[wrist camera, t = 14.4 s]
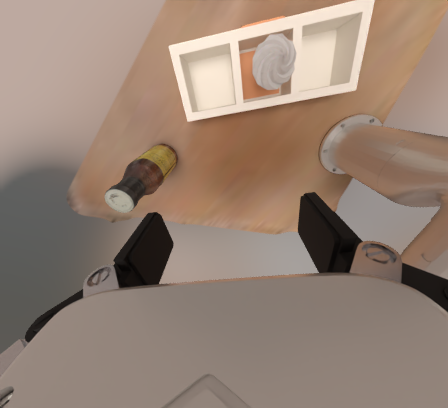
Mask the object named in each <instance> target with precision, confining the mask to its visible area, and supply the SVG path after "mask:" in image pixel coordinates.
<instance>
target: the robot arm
mask: <svg viewBox="0 0 448 408" xmlns="http://www.w3.org/2000/svg"><path fill="white" fill-rule="evenodd" d="M323 150H324V151H323ZM319 158H320V162H321V164H322V165H323V167H324V168H325V169H327V170H328V171H330V172H332V173H335V174H349V175H350V176H352V177H353V178H355V179H357V180H358V181H360V182H362V183H363V184H365V185H367V186H368V187H370V188H371V189H373V190H375V191H376V192H378V193H379V194H381V195H383V196H385V197H386V198H388V199H390V200H391V201H393V202H395V203H398V204H401V205H405V206H411V207H435V206H440V209H439V210H438V212H437V213H436V214H435V215H434V217H433V218H432V219H431V221H430V222H429V223H428V224H427V225H426V227H425V228H424V229H423V230H422V231H421V232H420V233H419V234H418V235H417V236H416V237H415V238H414V240H413V241H412V242H411V243H410V244H409V245H408V246H407V247H406V249H405V250H404V251H403V252H402V254H401V255H399V253H398V252H397V251H396V250H394V249H393V248H391V247H389V246H388V245H385V244H383V243H380V242H375V241H364V242H363V241H362V240H361V239H360V238H359V237H358V236H357V235H356V234H355V233H354V232H353V231H352V230H351V229H350V228H349V227H348V226H347V225H346V223H345V222H344V221H343V220H342V219H341V218H340V217H339V216H338V215H337V214H336V213H335V212H333V211H332V210H331V209H330V208H329V207H328V206H327V205H326V203H325V202H324V201H323V200H322V199H321V198H320V197H319V196H318V195H317V194H316V193H315V192H312V193H305V194H304V196H301V200H300V211H299V222H298V233H299V235H300V237H301V239H302V241H303V243H304V245H305V247H306V249H307V251H308V252H309V254H310V256H311V258H312V260H313V262H314V264H315V266H316V268H317V270H318V272H319V273H313V274H312V273H311V274H295V275H278V276H263V277H250V278H236V279H222V280H208V281H194V282H182V283H169V284H159V282H160V279H161V277H162V274H163V271H164V269H165V266H166V264H167V261H168V258H169V256H170V253H171V251H172V248H173V241H172V239H171V236H170V234H169V232H168V230H167V227H166V225H165V223H164V221H163V218H162V216H161V215H160V214H158V213H157V212H153V213H148V214H147V215H146V216H145V218H144V219H143V220H142V222H141V223H140V224H139V226H138V227H137V229H136V230H135V231H134V233H133V234H132V235H131V237H130V238H129V239H128V241H127V242H126V244H125V245H124V246H123V248H122V249H121V250H120V252H119V253H118V254H117V256H116V257H115V259H114V262H115V264H114V265H104V266H102V267H99V268H98V269H96V270H94V271H93V272H92V273H91V274H90V275H89V276H88V277H87V278H86V280H85V281H84V285H83V289H82V290H81V291H79V292H77V293H76V294H74V295H73V296H71V297H69V298H68V299H67V300H65V301H63V302H61V303H60V304H59V305H57V306H55V307H54V308H52V309H51V310H49V311H47V312H46V313H45V314H43V315H41V316H40V317H39V318H37V320H35V322H34V323H33V324H32V325H31V327H30V328H29V329H28V331H27V332H26V335H25V339H24V340H22V339H19V340H18V341H16V342H15V343H14V344H13V345H11V346H10V347H9V348H8V349H7V350H5V351H4V352H3V353H2V354H0V408H448V137H443V136H437V135H431V134H425V133H418V132H413V131H406V130H400V129H394V128H388V127H383V125H382V123H381V122H380V120H378V119H377V118H376V117H374V116H371V115H365V114H358V115H353V116H350V117H347V118H345V119H343V120H341V121H340V122H338V123H337V124H336V125H334V126H333V127H332V128H331V129H330V130H329V132H328V133H327V134H326V136H325V137H324V139H323V141H322V143H321V146H320V151H319Z"/></svg>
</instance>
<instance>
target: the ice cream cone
mask: <svg viewBox="0 0 448 408" xmlns="http://www.w3.org/2000/svg"><path fill="white" fill-rule="evenodd" d="M296 54H297V53H296V50H295V47H294V44H293V41H291V40H288V39H287V38H286V37H285V36H284V35H283V34H282V33H280V34H271V35H269V36H268V37H267V38H266V40H265V41H264V42H262V43H260V44H259V45H258V47H257V49H256V51H255V54H254V56H253V66H252V67H253V70H252V72H253V73H252V74H253V76H254V78H255V80H256V82H257V84H258V85H260V86H261V87H263V88H264V89H267V90H275V89H278V88H279V87H280V86H281V85H282V84H283V83H285V82H288V81H289V79H290V77H291V75H292V73H293V72H294V70H295V67H294V62H295V59H296Z"/></svg>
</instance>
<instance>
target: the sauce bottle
mask: <svg viewBox="0 0 448 408" xmlns="http://www.w3.org/2000/svg"><path fill="white" fill-rule="evenodd" d="M176 162H177V155H176V153H175V151H174V150H173V149H172V148H171V147H169V146H168V145H165V144H160V145H157V146H154V147H152V148H151V149H150V150H148V151H147V152H145V153H144V154H142V155H141V156H140V157H138V158H137V159H135V160H134V161H133V162H131V163H130V164H129V165H128V166H127V168H126V171H125V173H124V176H123V179H122V180H121V182H120V183H118V184H117V185H114V186H112V187H111V188H110V189H109V190H108V191H107V192H106V194H105V201H106V203H107V204H108V205H109V206H110V207H111V208H113V209H114V210H116V211H118V212H123V213H126V212H130V211H132V209H133V208H134V207H135V206H136V205H137V203H138V201H139V199H140V198H142V196H144V195H150V194H152V193H154V192H155V191H156V190H157V189H158V187H159V186H160V185H161V184H162V183H163V182H164V180H165V179H166V178H167V176H168V175H169V174H170V172H171V171H172V170H173V168H174V167H175V165H176Z"/></svg>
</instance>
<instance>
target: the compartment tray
mask: <svg viewBox="0 0 448 408" xmlns="http://www.w3.org/2000/svg"><path fill="white" fill-rule="evenodd" d="M374 1H375V0H355V1H351V2H347V3H343V4H339V5H335V6H331V7H326V8H322V9H318V10H314V11H310V12H306V13H302V14H298V15H294V16H289V17H285V16H280V17H276V18H272V19H268V20H264V21H260V22H256V23H252V24H248V25H244V26H242V27H241V28H240V29H236V30H232V31H228V32H224V33H220V34H215V35H211V36H207V37H203V38H199V39H195V40H191V41H187V42H183V43H178V44H174V45H170V46H169V50H170V54H171V58H172V62H173V66H174V70H175V74H176V78H177V82H178V86H179V90H180V94H181V97H182V101H183V105H184V109H185V113H186V117H187V121H188V122H189V121H194V120H199V119H205V118H210V117H216V116H221V115H226V114H232V113H237V112H242V111H248V110H253V109H258V108H264V107H269V106H274V105H280V104H285V103H291V102H296V101H301V100H307V99H312V98H317V97H323V96H328V95H333V94H339V93H344V92H349V91H355V90H356V87H357V83H358V78H359V73H360V68H361V63H362V59H363V54H364V49H365V44H366V39H367V35H368V30H369V25H370V20H371V16H372V11H373V6H374ZM280 33H282V34H283V35H284V36H285V37H286V38H287V39H288V40H291V41H293V44H294V47H295V50H296V53H297V54H296V59H295V62H294V67H295V70H294V72H293V73H292V75H291V77H290V79H289V81H288V82H285V83H283V84H282V85H281V86H280V87H279V88H278V89H275V90H267V89H264V88H263V87H261V86H260V85H258V84H257V82H256V80H255V78H254V76H253V74H252V73H253V72H252V70H253V67H252V66H253V56H254V54H255V51H256V49H257V47H258V45H259V44H260V43H262V42H264V41H265V40H266V38H267V37H268V36H269V35H271V34H280Z"/></svg>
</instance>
